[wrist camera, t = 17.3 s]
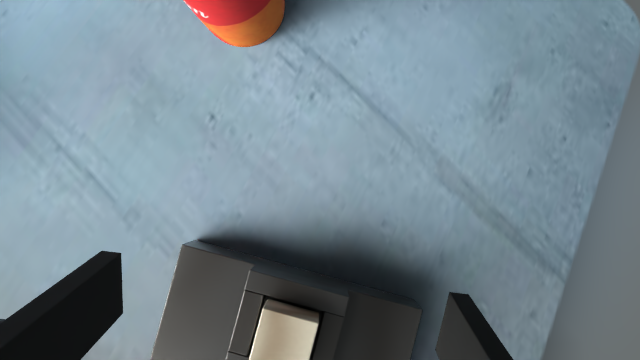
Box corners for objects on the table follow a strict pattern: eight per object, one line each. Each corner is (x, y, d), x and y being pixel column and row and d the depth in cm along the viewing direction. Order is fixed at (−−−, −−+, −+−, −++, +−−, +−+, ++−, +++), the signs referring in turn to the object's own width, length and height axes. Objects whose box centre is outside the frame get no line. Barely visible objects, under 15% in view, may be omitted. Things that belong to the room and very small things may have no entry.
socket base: (414, 298, 24) (431, 319, 20) (378, 441, 24) (388, 491, 20) (194, 238, 25) (169, 247, 21) (155, 378, 24) (122, 415, 20)
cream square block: (319, 312, 21) (319, 323, 19) (305, 365, 21) (303, 380, 19) (267, 298, 21) (262, 307, 19) (253, 350, 21) (247, 365, 19)
